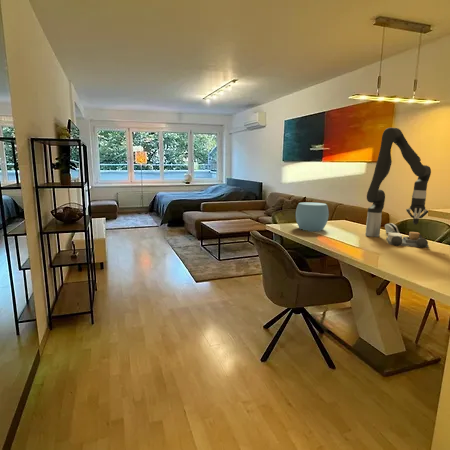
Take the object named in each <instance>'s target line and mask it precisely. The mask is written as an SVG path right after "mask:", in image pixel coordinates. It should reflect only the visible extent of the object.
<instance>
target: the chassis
mask: <svg viewBox="0 0 450 450" xmlns="http://www.w3.org/2000/svg"><path fill="white" fill-rule="evenodd" d="M385 239H386V242H387V244H388V245H392V246H396V247H398V246H402V247H403V246H405V247H414V248H415V247H416V248H421V249H423V248H424V249H425V247H428V248H429V247H430V246H429V242H428V240H427V239H426V238H424V237H422V235H421V234H420V235H419V239H417V240H409V236H403V235H402V234H401V233H400V232H399V233H397V232H395V231H390V232H388V234H387V237H386V238H385Z"/></svg>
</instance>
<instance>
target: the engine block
mask: <svg viewBox="0 0 450 450" xmlns="http://www.w3.org/2000/svg"><path fill="white" fill-rule="evenodd" d="M419 235H421V233H420V232H417V231H409V233H408V237H409V240H417V239H419Z"/></svg>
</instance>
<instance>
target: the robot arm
mask: <svg viewBox="0 0 450 450" xmlns="http://www.w3.org/2000/svg"><path fill="white" fill-rule="evenodd" d="M404 135H405V134H404V133H403V132H402V130H401V129H400V128H398V127H387V128H385V130H384V131H383V133H382V136H381V141H380V142H381V143H380V146H379V152H378V156H377V160H376V164H375V168H374V173H373V176H372V179H371V181H370V184H369V186H368V191H367V192H366V200H367V202H368V203H370V204H371V203H372V204H371V206H369V207H368V209H367V215H366V216H367V217H366V221H365V222H366V224H365V225H366V226H365V237H371V238H372V237H373V238H378V237H380V234H381V225H382V224H381V223H382V213H383V210H384V207H385V202H386V194H385V191H384V190H383V189H380V186H381V184H382V182H384V181H385V179H386V178H387V176H388V174H389V173H390V170H391V168H392V162H393V161H392V154H391V153H392V152H391V151H392V146H393V143H394V145H396V146H397V147H398V149H399V150H400V153H401V156H402V157H403V159H404V161H406V163H407V164H408V165H409V167H410V169H411V171H412V173H413V174H414V175H415V176H416V177H417V180H416V181H414V184H413V191H412V195H411V203H410V205H409V207H408V208H406V210H405V211H406V212H407V214H408V215H409V217H410V218H412V223H413V224H414V225H418V224H419V219H423V217H425V216H426V215H427V214H429V210H427V209H426V201H427V200H426V199H427V190H428V189H427V187H428V182H429V180H430V177H431V175H432V170H431V167H430V166H429V165H427V164H426V165H425V164H422V163H423V162H421V157H420V156H419V155H418V153H416V151H415V150H414V149H413V148H412V147H411V145H410V143H409V142H408V140H407V139H406V137H405V136H404ZM411 212H412V213H413V214H412V213H411Z"/></svg>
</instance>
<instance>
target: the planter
mask: <svg viewBox="0 0 450 450" xmlns="http://www.w3.org/2000/svg"><path fill="white" fill-rule="evenodd" d="M329 216H330V211H329V206H328V204H327V203H324V202H311V201H310V202H307V201H305V202H304V201H303V202H298V204H297V206H296V209H295V221H296V224H297V226H298V228H299V230H301V229H303V230H302V231H304V230H308V231H307V232H313V231H316V232H322V231H323V230H324V229H325V227H326V225H327V223H328V222H329ZM321 230H322V231H321Z"/></svg>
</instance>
